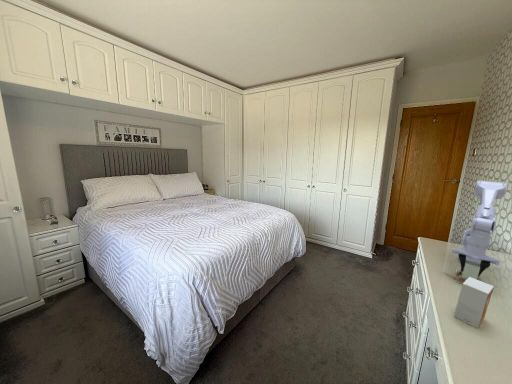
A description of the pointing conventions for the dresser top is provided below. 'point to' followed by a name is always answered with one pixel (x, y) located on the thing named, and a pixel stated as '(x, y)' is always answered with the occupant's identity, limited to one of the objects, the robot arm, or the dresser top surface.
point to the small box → (473, 301)
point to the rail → (459, 275)
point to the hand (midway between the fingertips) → (469, 273)
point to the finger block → (470, 270)
